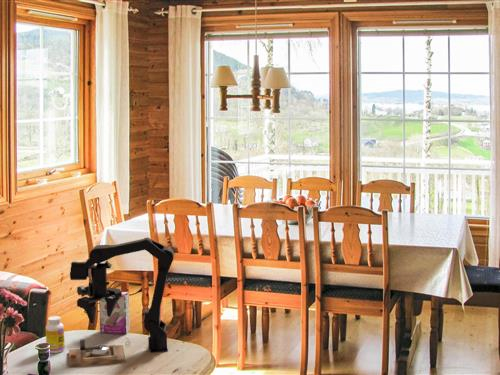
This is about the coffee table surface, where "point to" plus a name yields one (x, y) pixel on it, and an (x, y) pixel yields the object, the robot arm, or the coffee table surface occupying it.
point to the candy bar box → (115, 316)
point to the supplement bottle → (55, 334)
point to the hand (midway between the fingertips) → (100, 319)
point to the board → (85, 359)
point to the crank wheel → (95, 349)
